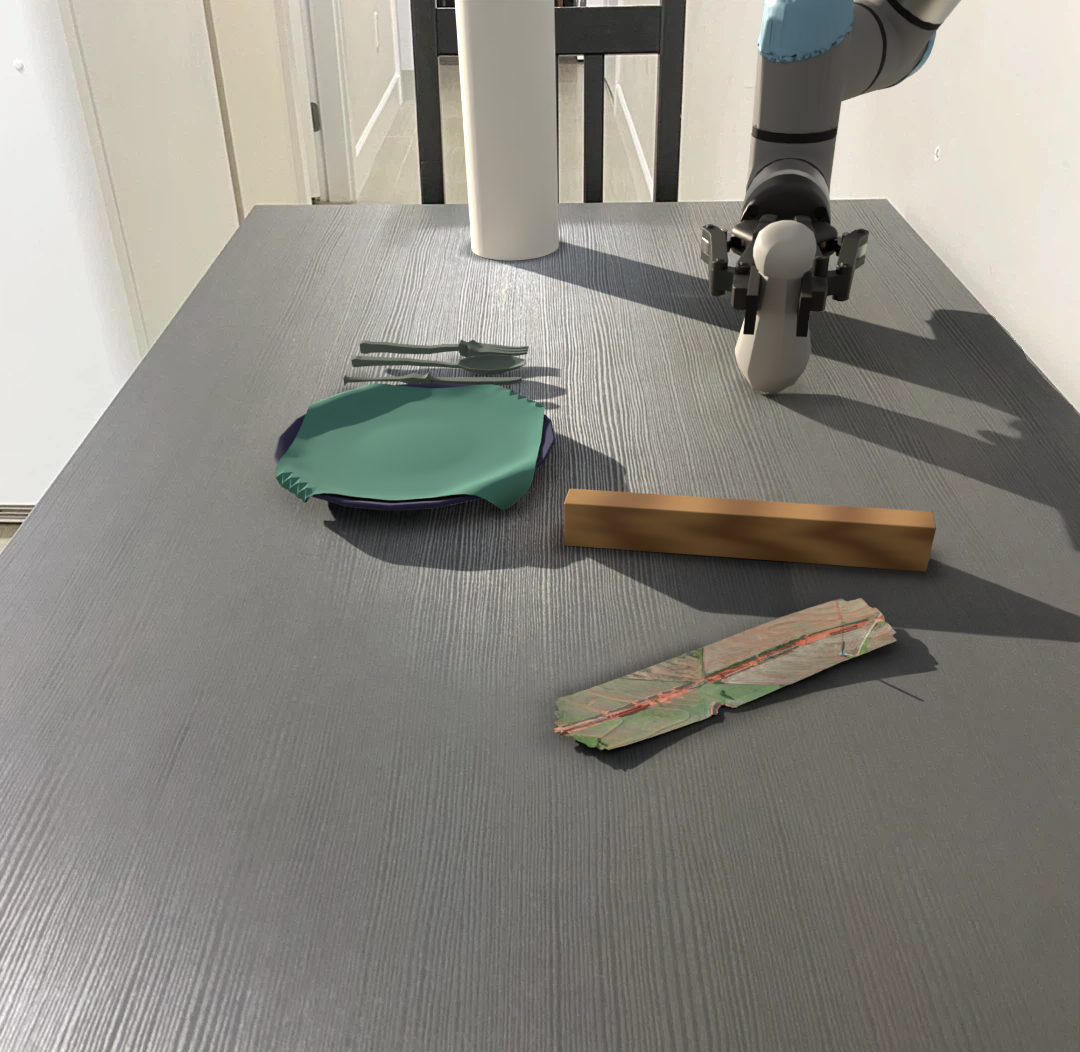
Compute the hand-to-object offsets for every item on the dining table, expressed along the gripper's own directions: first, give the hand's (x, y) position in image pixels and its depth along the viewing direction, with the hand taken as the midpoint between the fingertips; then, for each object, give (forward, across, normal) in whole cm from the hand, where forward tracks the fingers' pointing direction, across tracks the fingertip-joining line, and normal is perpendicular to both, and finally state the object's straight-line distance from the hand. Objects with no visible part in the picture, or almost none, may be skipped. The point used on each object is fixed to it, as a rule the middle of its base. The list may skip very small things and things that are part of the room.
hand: (777, 316), depth 75 cm
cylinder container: (-42, +28, -9) cm, 52 cm away
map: (+30, +1, -9) cm, 32 cm away
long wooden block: (+17, +1, -8) cm, 19 cm away
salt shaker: (-9, 0, -8) cm, 12 cm away
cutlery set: (+4, +25, -9) cm, 26 cm away
